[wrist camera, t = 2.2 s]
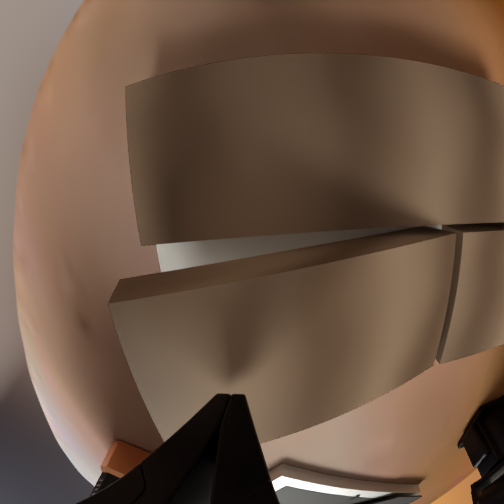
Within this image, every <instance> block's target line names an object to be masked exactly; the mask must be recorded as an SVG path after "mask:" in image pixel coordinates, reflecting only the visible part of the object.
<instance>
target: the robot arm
mask: <svg viewBox="0 0 504 504" xmlns="http://www.w3.org/2000/svg"><path fill="white" fill-rule="evenodd" d="M457 446H458V448H459V449H460V448H462V447H465V450H466V452H467V454H468V456H469V458H470V460H471V463H472V465H473V467H474V468H478V470H479V472H480V475H481V477H482V478H481V479H479V480H478V481H477V482H474V483H473V484H472V485H471V490H472V491H471V495H472V500H473V504H504V397H502V398H499V399H497V400H495V401H493V402H491V403H489V404H487V405H484V406H482V407H481V408H480V409H479V410H478V412H477V413H476V415H475V417H474V419H473V421H472V422H471V424H470V426H469V427H468V429H467V431H466V432H465V434H464V436H463V437H462V439H461V440H460V442H459V443H458V445H457ZM76 504H280V502H279V500H278V497H277V495H276V492H275V489H274V486H273V483H272V481H271V477H270V474H269V471H268V468H267V465H266V462H265V459H264V455H263V452H262V449H261V446H260V443H259V439H258V436H257V433H256V429H255V426H254V423H253V419H252V416H251V412H250V409H249V405H248V402H247V398H246V395H245V394H232V395H231V394H226V393H218V394H216V395H215V396H214V397H213V398H212V399H211V400H210V401H208V402H207V403H206V404H205V405H204V406H203V407H202V408H201V409H200V410H199V411H198V412H197V413H196V414H195V415H194V416H193V417H192V418H191V419H190V420H188V421H187V422H186V423H185V424H184V425H183V426H182V427H181V428H180V429H179V430H178V431H176V432H175V433H174V434H173V435H172V436H171V437H170V438H169V439H167V440H166V441H165V442H164V443H163V444H162V445H161V446H159V447H158V448H157V449H156V450H155V451H154V452H152V453H151V454H150V455H149V456H148V457H147V458H145V459H144V460H143V461H142V462H141V464H138V465H137V466H135V467H134V468H133V469H132V470H131V471H129V472H128V473H127V474H125V475H124V476H122V477H121V478H120V479H118V480H117V481H115V482H114V483H112V484H111V485H109V486H107V487H106V488H104V489H102V490H101V491H99V492H97V493H95V494H93V495H92V496H90V497H88V498H86V499H84V500H82V501H80V502H78V503H76Z"/></svg>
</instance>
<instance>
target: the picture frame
mask: <svg viewBox="0 0 504 504" xmlns="http://www.w3.org/2000/svg"><path fill="white" fill-rule="evenodd" d="M269 474H270V477H271V481H272V483H273V486H274V489H275V492H276V495H277V497H278V500H279V502H280V504H409V503H411V502H413V501H415V500H417V499H419V498H420V497H422V495H419V496H416V495H417V494H419V493H420V488H419V485H416V484H394V483H381V482H372V481H364V480H356V479H350V478H344V477H338V476H333V475H328V474H323V473H318V472H314V471H309V470H305V469H301V468H297V467H293V466H290V465H286V464H281V465H279V466H278V467H276V468H274V469H273V470H271V471H270V472H269Z"/></svg>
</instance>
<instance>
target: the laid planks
mask: <svg viewBox="0 0 504 504" xmlns="http://www.w3.org/2000/svg"><path fill="white" fill-rule="evenodd" d="M125 94H126V123H127V139H128V152H129V163H130V173H131V182H132V190H133V198H134V205H135V212H136V219H137V225H138V231H139V237H140V243H141V246H146V245H157V244H168V243H179V242H191V241H203V240H215V239H227V238H240V237H252V236H266V235H279V234H293V233H308V232H322V231H338V230H354V229H370V228H388V227H406V226H426V225H442V230H445V231H449V232H453V233H456V243H455V255H454V265H453V273H452V281H451V287H450V294H449V300H448V305H447V311H446V316H445V320H444V325H443V330H442V334H441V338H440V342H439V346H438V350H437V353H436V357H435V358H436V360H437V361H438V363H439V364H442V363H446V362H450V361H453V360H457V359H460V358H464V357H467V356H470V355H474V354H477V353H480V352H483V351H486V350H489V349H491V348H494V347H497V346H500V345H502V344H504V85H501V84H499V83H496V82H493V81H490V80H488V79H485V78H482V77H479V76H475V75H472V74H469V73H465V72H462V71H458V70H454V69H451V68H447V67H442V66H438V65H433V64H429V63H424V62H418V61H413V60H406V59H400V58H393V57H384V56H375V55H363V54H347V53H296V54H279V55H267V56H257V57H249V58H241V59H234V60H228V61H222V62H216V63H211V64H206V65H201V66H196V67H191V68H187V69H183V70H179V71H175V72H171V73H167V74H164V75H160V76H156V77H153V78H150V79H146V80H143V81H140V82H137V83H134V84H131V85H128V86H125Z"/></svg>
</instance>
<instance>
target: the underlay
mask: <svg viewBox="0 0 504 504" xmlns="http://www.w3.org/2000/svg"><path fill="white" fill-rule="evenodd" d="M426 226H428V227H432V228H437V229H441V230H442V225H426ZM415 227H420V226H406V227H388V228H370V229H354V230H338V231H322V232H308V233H293V234H279V235H266V236H252V237H240V238H227V239H215V240H203V241H191V242H179V243H168V244H157V245H156V248H157V253H158V259H159V264H160V269H161V272H167V271H172V270H178V269H184V268H190V267H196V266H201V265H207V264H213V263H219V262H224V261H230V260H236V259H242V258H247V257H253V256H259V255H264V254H270V253H276V252H281V251H287V250H293V249H298V248H304V247H309V246H315V245H321V244H326V243H332V242H337V241H343V240H349V239H354V238H360V237H365V236H371V235H376V234H382V233H387V232H393V231H398V230H404V229H409V228H415Z"/></svg>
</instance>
